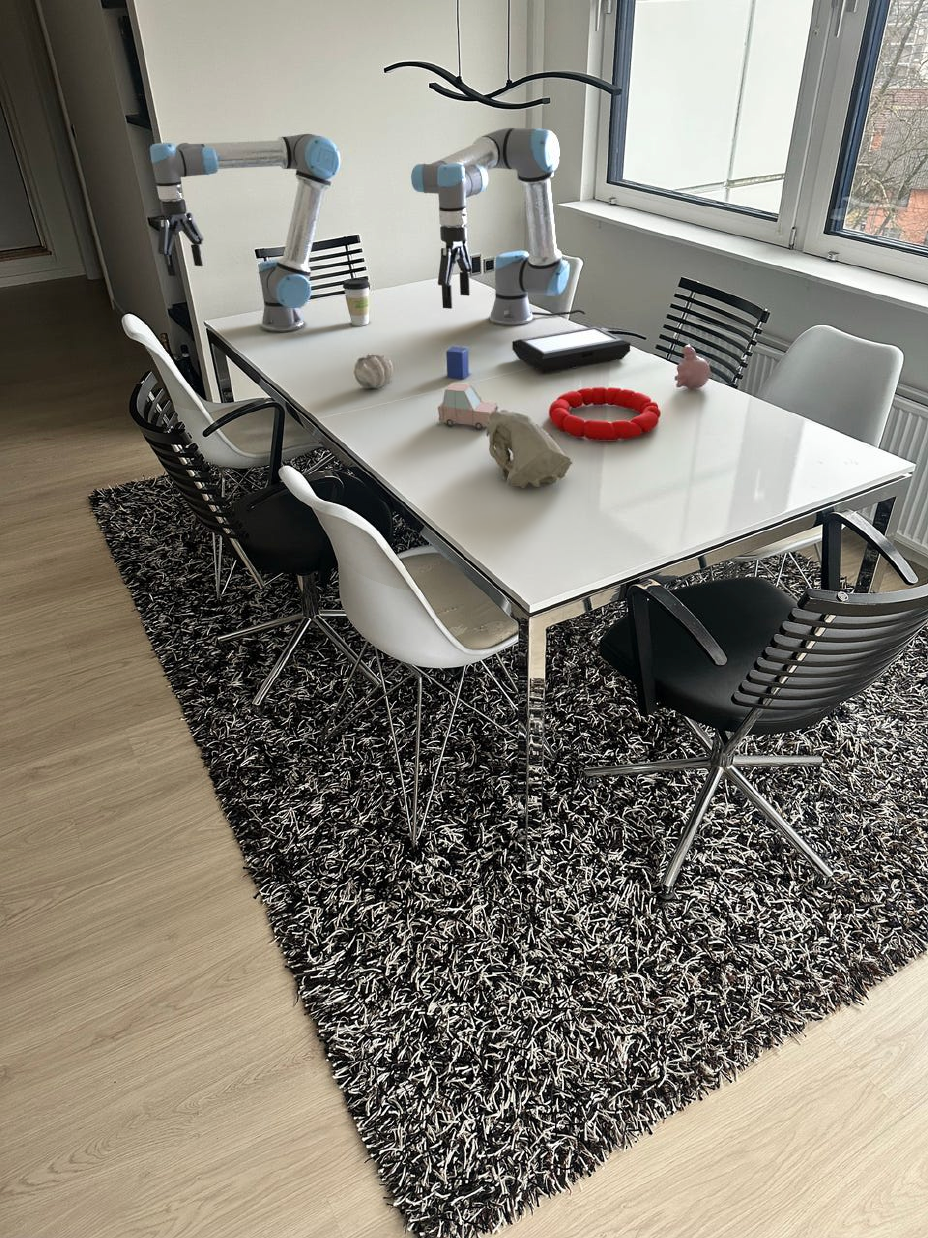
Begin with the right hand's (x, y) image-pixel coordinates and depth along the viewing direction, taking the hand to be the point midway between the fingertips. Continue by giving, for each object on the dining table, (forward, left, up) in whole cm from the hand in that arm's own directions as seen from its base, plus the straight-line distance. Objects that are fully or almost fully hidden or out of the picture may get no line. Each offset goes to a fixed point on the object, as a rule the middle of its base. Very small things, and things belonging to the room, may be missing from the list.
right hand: (456, 301), depth 265 cm
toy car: (+20, +33, -23) cm, 45 cm away
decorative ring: (-9, +56, -23) cm, 61 cm away
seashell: (+26, -8, -23) cm, 35 cm away
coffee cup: (-5, -69, -23) cm, 73 cm away
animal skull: (+28, +66, -23) cm, 75 cm away
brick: (0, 0, -23) cm, 23 cm away
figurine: (-46, +54, -23) cm, 74 cm away
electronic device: (-36, +11, -23) cm, 44 cm away
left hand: (+54, -76, +4) cm, 93 cm away
